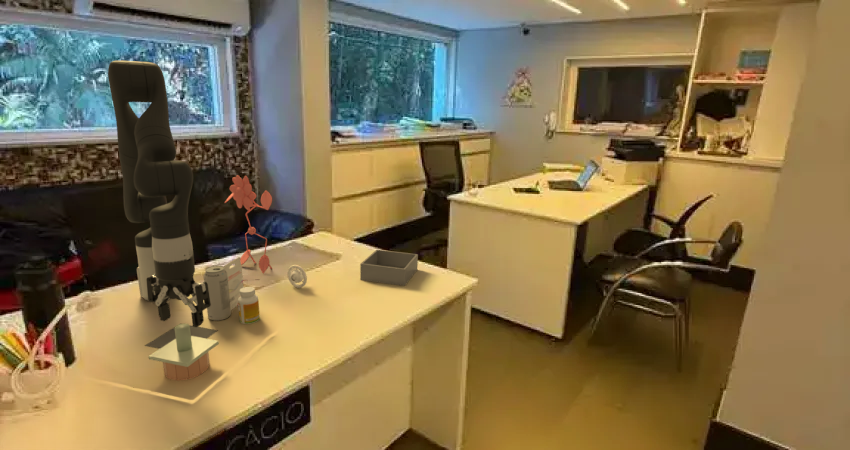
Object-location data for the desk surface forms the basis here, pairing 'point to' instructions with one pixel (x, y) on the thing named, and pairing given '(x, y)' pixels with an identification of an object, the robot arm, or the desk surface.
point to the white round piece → (297, 276)
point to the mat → (171, 336)
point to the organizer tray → (389, 274)
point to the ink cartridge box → (234, 281)
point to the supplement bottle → (248, 306)
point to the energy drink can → (218, 293)
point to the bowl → (186, 369)
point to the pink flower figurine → (243, 197)
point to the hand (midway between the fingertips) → (181, 322)
